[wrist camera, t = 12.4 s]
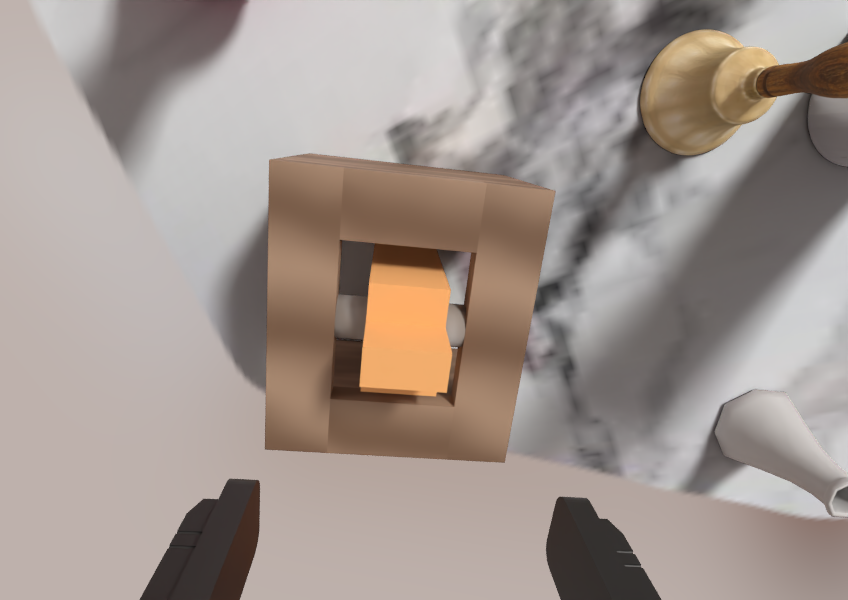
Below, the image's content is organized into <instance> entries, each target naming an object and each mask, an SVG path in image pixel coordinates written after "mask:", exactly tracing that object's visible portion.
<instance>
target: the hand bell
mask: <svg viewBox="0 0 848 600" xmlns="http://www.w3.org/2000/svg"><path fill="white" fill-rule="evenodd" d="M800 92H805V93H811V94H814V95H817V96H821V97H826V98H848V42H847V43H844V44H841V45H838V46H836V47H833V48H831V49H829V50H827V51H825V52H823V53H821V54H819V55H818V56H816V57H814V58H812V59H811V60H808V61H804V62H799V63H793V64H784V65H779V64H778V62H777V60H776V59H775V57H774V56H773V55H772V54H771V53H770V52H768V51H767V50H765V49H762V48H759V47H744V46H743V45H742V44H741V43H740V42H739V41H738V40H736V39H735V38H733V37H732V36H730V35H728V34H726V33H724V32H721V31H717V30H708V29H707V30H696V31H693V32H689V33H687V34H684V35H682V36H680V37H678V38H677V39H675V40H674V41H672V42H671V43H669V44H668V45H667V46H666V47H665V48H664V49H663V50H662V51H661V52H660V53H659V54H658V55H657V57H656V58H655V59H654V61H653V62H652V64H651V66H650V68H649V70H648V72H647V74H646V76H645V79H644V82H643V85H642V90H641V96H640V107H641V114H642V118H643V122H644V125H645V127H646V130H647V132H648V133H649V135H650V136H651V138H652V139H653V140H654V141H655V142H656V143H657V144H658V145H659V146H661V147H662V148H664V149H666V150H668V151H670V152H672V153H675V154H679V155H697V154H702V153H705V152H708V151H711V150H713V149H715V148H716V147H718V146H720V145H721V144H723V143H724V142H726V141H727V140H728V139H729V138H730V137H731V136H732V135H733V134H734V133H735V132H736V131H737V130H738V129H739V128H740V126H741V125H742V124H746V123H749V122H752V121H754V120H756V119H758V118H759V117H761V116H762V115H763V114H765V113H766V112H767V111H768V110H769V108H770V107H771V106H772V105H773V103H774V101H775V100H776V98H777V96H783V95H788V94H793V93H800Z"/></svg>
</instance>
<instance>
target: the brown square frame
mask: <svg viewBox="0 0 848 600" xmlns="http://www.w3.org/2000/svg"><path fill="white" fill-rule="evenodd" d="M554 196H555V191H553V190H550V189H547V188H544V187H540V186H537V185H534V184H531V183H527V182H524V181H521V180H517V179H514V178H511V177H508V176H504V175H497V174H488V173H479V172H470V171H461V170H452V169H443V168H434V167H426V166H417V165H408V164H399V163H390V162H381V161H372V160H363V159H354V158H345V157H336V156H327V155H318V154H303V155H297V156H290V157H284V158H277V159H271V160H269V214H268V282H267V350H266V419H265V420H266V422H265V449H267V450H286V451H303V452H321V453H339V454H358V455H376V456H395V457H413V458H430V459H448V460H466V461H485V462H505V458H506V452H507V447H508V442H509V436H510V431H511V426H512V420H513V415H514V410H515V404H516V399H517V394H518V388H519V383H520V378H521V372H522V367H523V362H524V356H525V351H526V346H527V340H528V335H529V330H530V324H531V319H532V314H533V308H534V303H535V298H536V292H537V287H538V282H539V276H540V271H541V266H542V260H543V255H544V250H545V244H546V239H547V234H548V228H549V223H550V218H551V212H552V207H553V202H554ZM342 240H348V241H358V242H368V243H379V244H389V245H400V246H410V247H421V248H431V249H441V250H452V251H462V252H471V259H470V266H469V273H468V280H467V287H466V294H465V301H464V305H459V304H449V306H448V313H447V321H446V331H447V335H448V339H449V343H450V347H458V349H451V350H452V360H451V367H450V373H449V380H448V387H447V393H442V392H437V393H436V397H435V396H421V395H406V394H391V393H376V392H361V387H359V386H360V374H361V361H362V348H363V342H359V341H346V340H336V338H346V339H359V340H364V333H365V325H366V315H367V303H368V297H365V296H354V295H342V294H339V283H340V266H341V250H342Z"/></svg>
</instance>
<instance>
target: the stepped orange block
mask: <svg viewBox="0 0 848 600" xmlns="http://www.w3.org/2000/svg"><path fill="white" fill-rule="evenodd" d="M450 292H451V289H450V287H449V284H448V281H447V278H446V275H445V272H444V269H443V267H442V264H441V261H440V258H439V255H438V252H437V249H431V248H421V247H410V246H400V245H389V244H379V243H375V246H374V252H373V259H372V266H371V273H370V280H369V290H368V303H367V315H366V325H365V333H364V340H363V348H362V361H361V374H360V386H359V387H361V392H376V393H391V394H406V395H421V396H435V397H436V393H437V392H442V393H447V387H448V380H449V373H450V367H451V360H452V350H451V347H450V343H449V339H448V335H447V331H446V321H447V313H448V306H449V299H450Z"/></svg>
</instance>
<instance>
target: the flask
mask: <svg viewBox="0 0 848 600" xmlns="http://www.w3.org/2000/svg"><path fill="white" fill-rule="evenodd" d="M714 433H715V435H716V437H717V440H718V442H719V445H720V447H721V450H722V452H723V455H724V456H726V457H729V458H731V459H734V460H736V461H739V462H742V463H744V464H747V465H750V466H753V467H755V468H758V469H761V470H763V471H766V472H768V473H771V474H773V475H775V476H778V477H780V478H783V479H785V480H788V481H790V482H792V483H794V484H795V485H797V486H799V487H800V488H802V489H804V490H806V491H807V492H809V493H811V494H812V495H813V496H815V497H816V498H817V499H818V500H820V501H821V502H822V503H823V504H824V505H825V507H826V510H827V512H828V513H829V515H831V516H832V517H845V518H848V473H847V472H846V471H844V470H843V469H842V468H840V467H839V466H838V465H837V464H836V463H835V462H834V461H833V459H832V458H831V457H830V456H829V455H828V454H827V453H826V452H825V451H824V450H823V449H822V447H821V446H820V444H819V443H818V441H817V440H816V438H815V437H814V436H813V434H812V433H811V431H810V430H809V428H808V427H807V425H806V424H805V422H804V421H803V419H802V417H801V416H800V414H799V413H798V411H797V409H796V408H795V406H794V405H793V403H792V401H791V400H790V398H789V397H788V395H787V394H786V392H777V391H768V390H758V389H755V390H753V391H751V392H749V393H747V394H744V395H742V396H740V397H738V398H736V399H734V400H732V401H730V402H728V403H726V404H725V405H724V407H723V410H722V413H721V416H720V418H719V421H718V424H717V427H716V429H715V432H714Z"/></svg>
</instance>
